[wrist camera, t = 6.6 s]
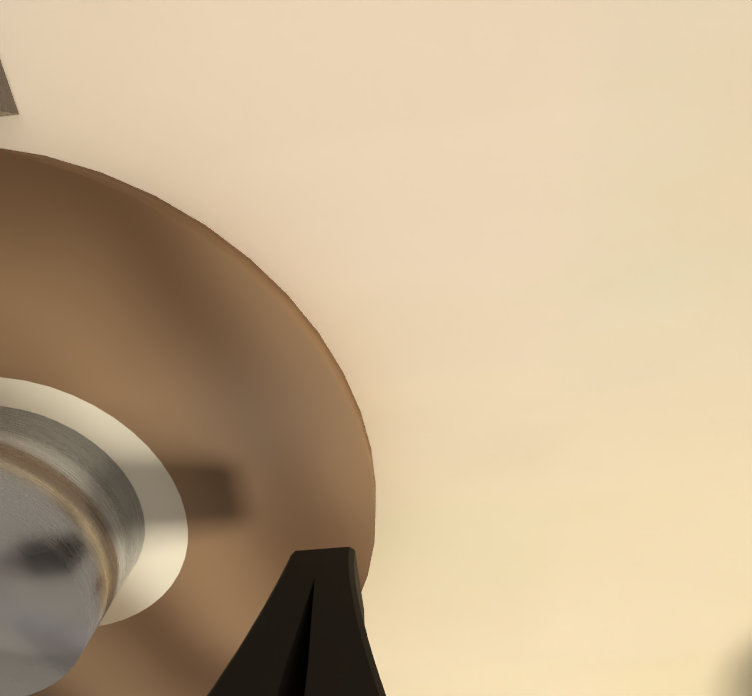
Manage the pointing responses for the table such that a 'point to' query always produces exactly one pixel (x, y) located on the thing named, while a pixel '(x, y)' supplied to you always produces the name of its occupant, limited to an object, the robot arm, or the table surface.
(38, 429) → the cover
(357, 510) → the turntable
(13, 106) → the dial gauge
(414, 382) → the table surface
